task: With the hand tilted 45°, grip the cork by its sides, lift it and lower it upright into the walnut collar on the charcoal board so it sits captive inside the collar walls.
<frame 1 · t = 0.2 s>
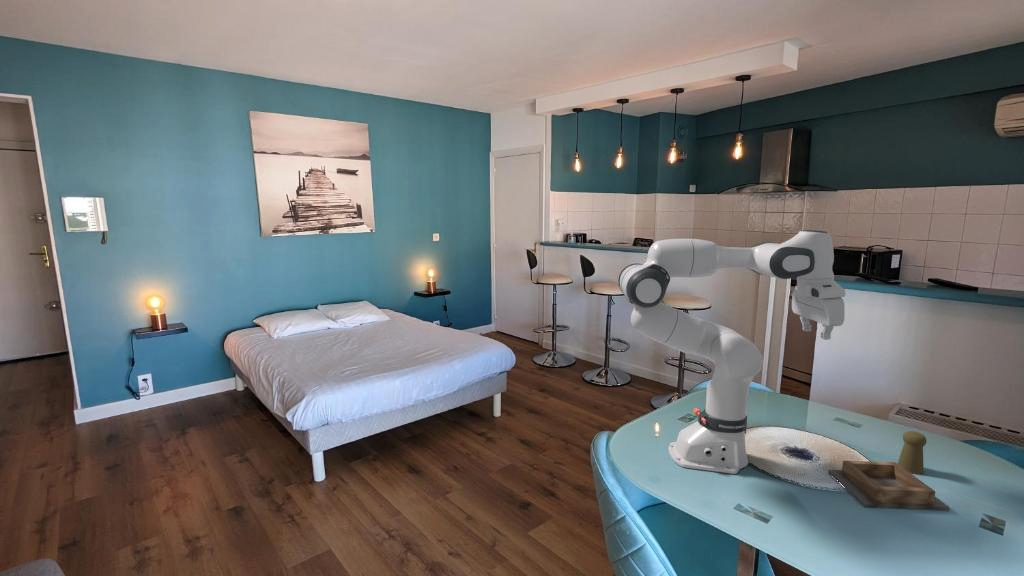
hand: (816, 334, 137), 39 cm above the table, fingers open, 8 cm apart
cork: (910, 469, 139), on the table
collar: (884, 490, 128), on the table
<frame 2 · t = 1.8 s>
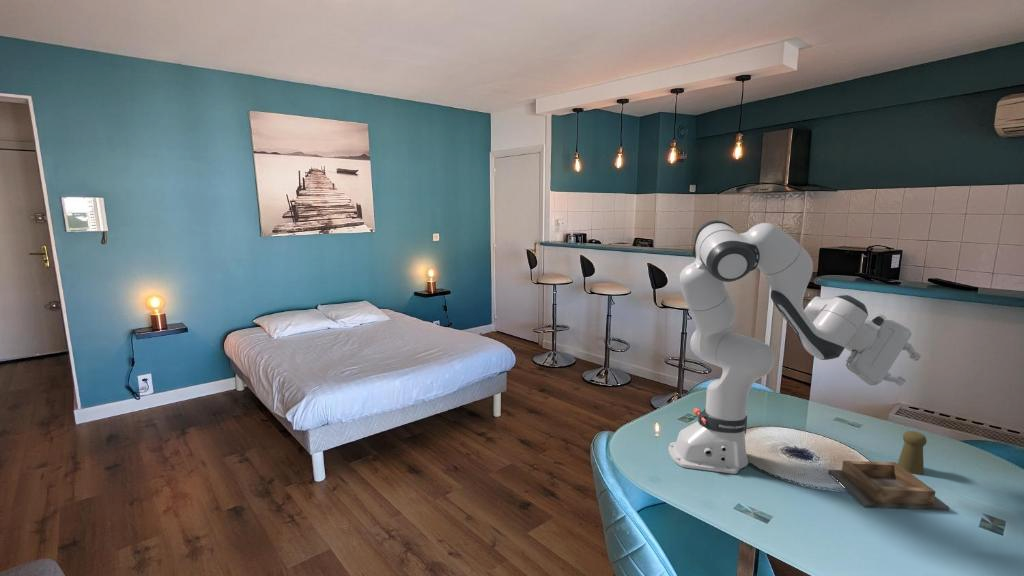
hand: (911, 370, 131), 31 cm above the table, fingers open, 8 cm apart
nothing on the table moved.
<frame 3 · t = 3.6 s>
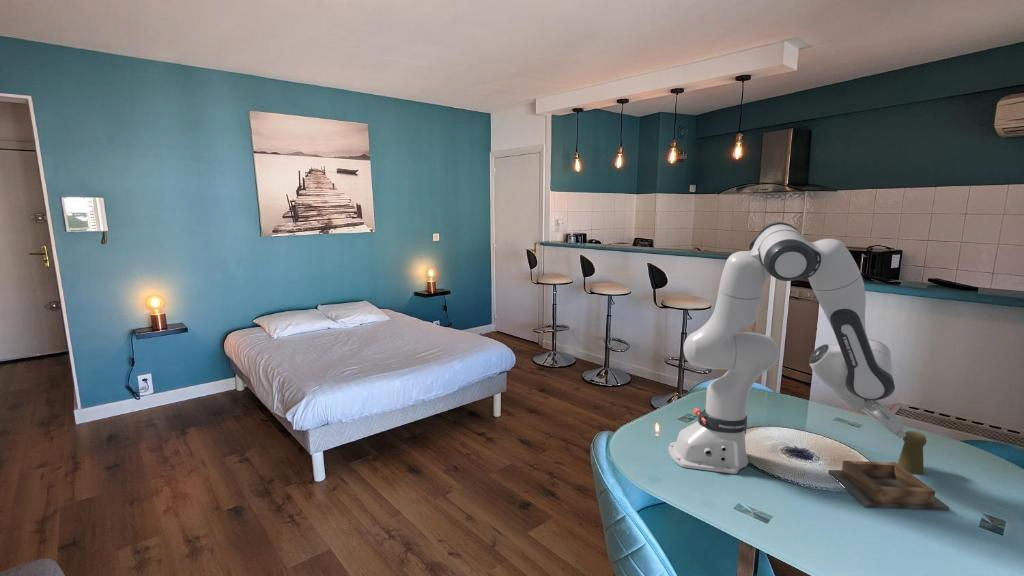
hand: (891, 428, 135), 13 cm above the table, fingers open, 8 cm apart
nothing on the table moved.
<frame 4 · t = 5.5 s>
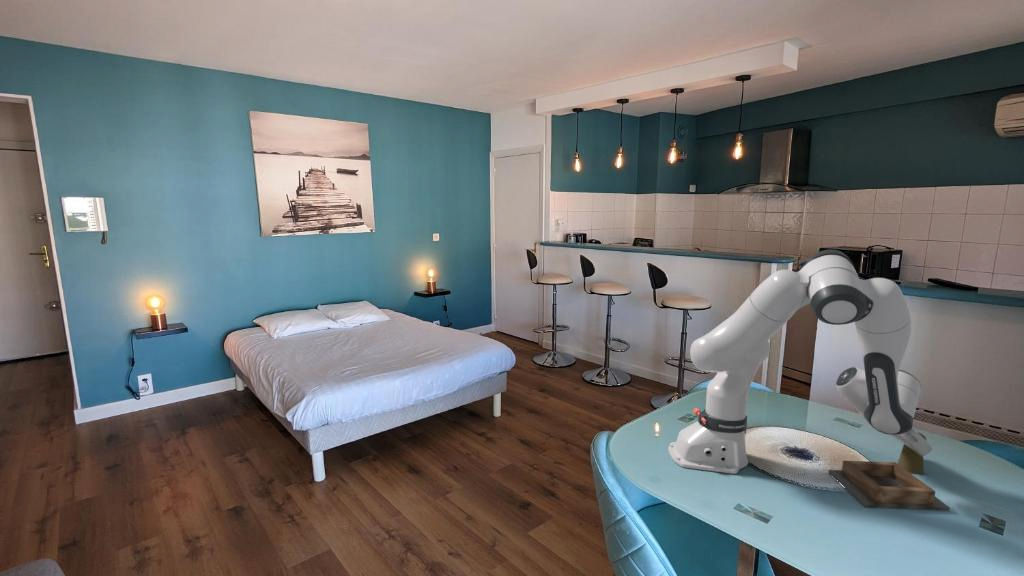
hand: (915, 448, 138), 6 cm above the table, fingers closed on cork, 5 cm apart
cork: (910, 469, 139), on the table, touching gripper
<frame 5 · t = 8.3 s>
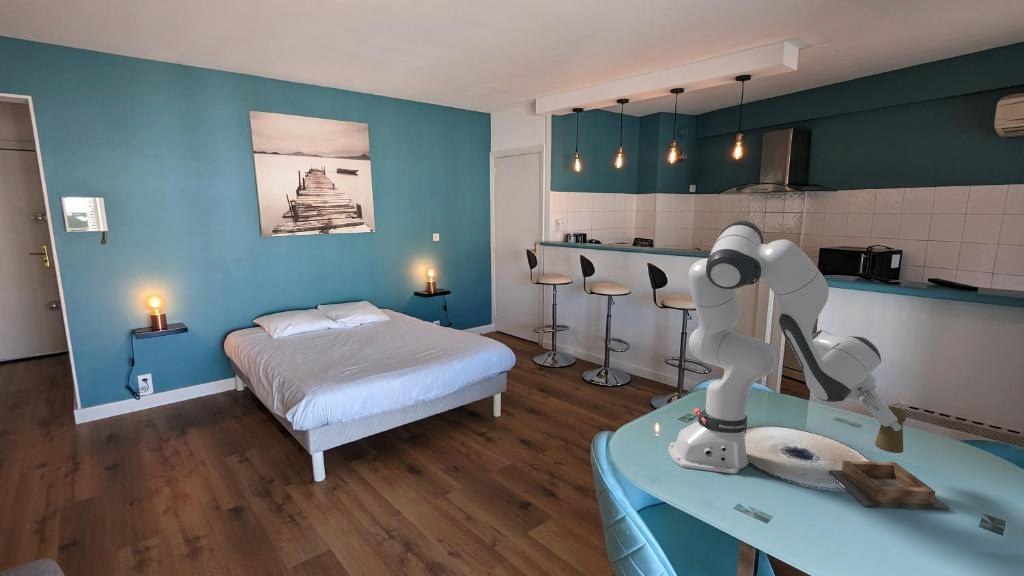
hand: (894, 423, 126), 19 cm above the table, fingers closed on cork, 5 cm apart
cork: (888, 448, 128), point 12 cm above the table, touching gripper
when the fingers open (8 cm above the table, at t = 11.5 s): cork stays where it is, resting on collar.
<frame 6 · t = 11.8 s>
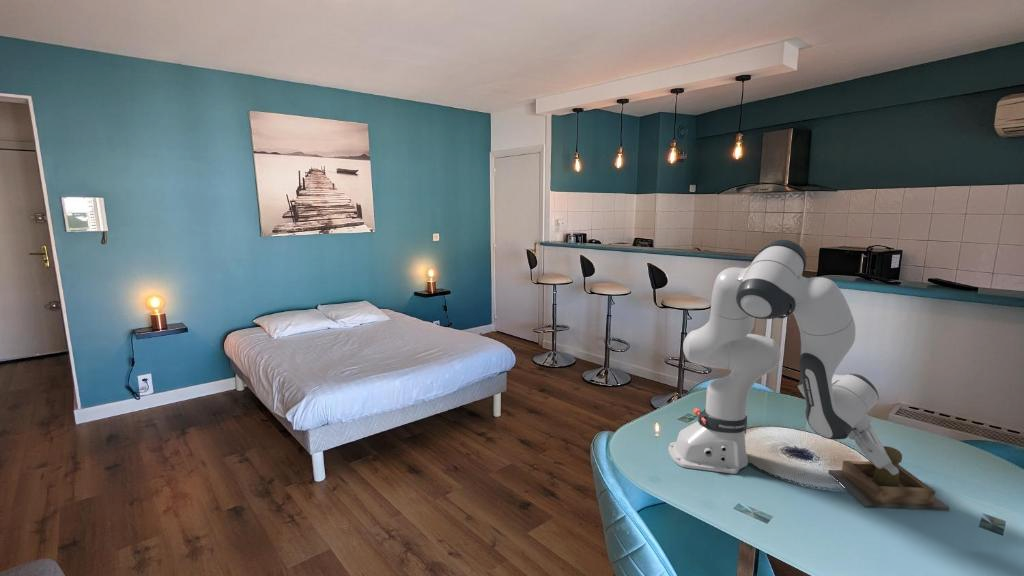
hand: (891, 463, 127), 8 cm above the table, fingers open, 8 cm apart
cork: (884, 487, 128), point 1 cm above the table, touching collar
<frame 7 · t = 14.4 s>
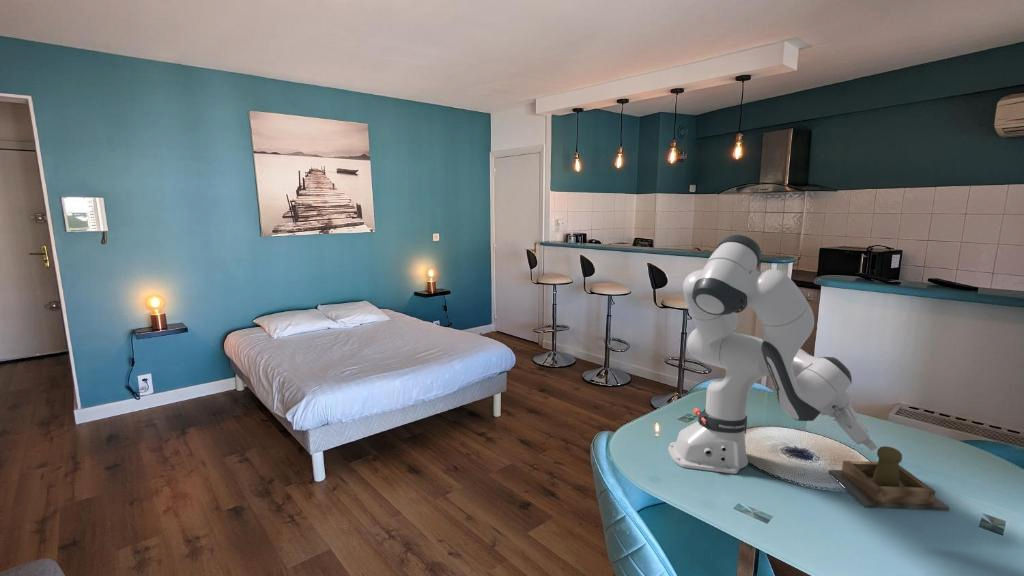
hand: (869, 440, 129), 13 cm above the table, fingers open, 8 cm apart
nothing on the table moved.
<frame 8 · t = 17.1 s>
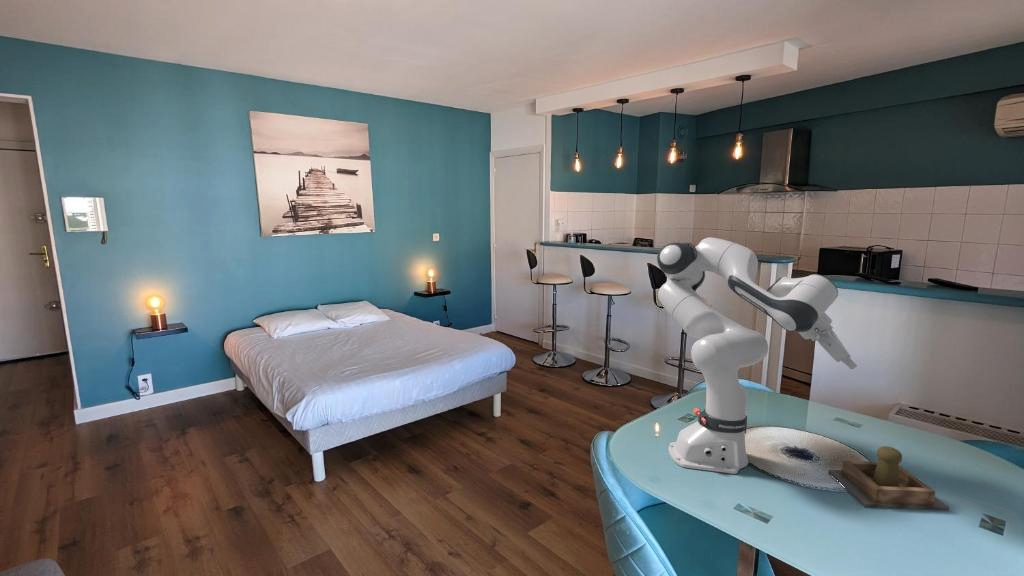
hand: (850, 362, 136), 31 cm above the table, fingers open, 8 cm apart
nothing on the table moved.
at the end: cork 0.0 cm off-centre on the collar, point 0.8 cm above the collar's base; cork tilted 0°; the gripper is holding nothing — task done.
